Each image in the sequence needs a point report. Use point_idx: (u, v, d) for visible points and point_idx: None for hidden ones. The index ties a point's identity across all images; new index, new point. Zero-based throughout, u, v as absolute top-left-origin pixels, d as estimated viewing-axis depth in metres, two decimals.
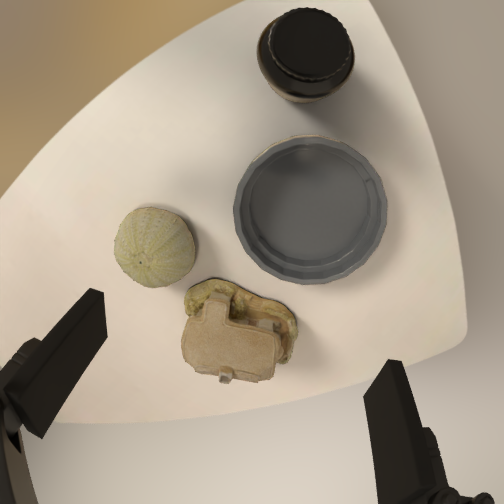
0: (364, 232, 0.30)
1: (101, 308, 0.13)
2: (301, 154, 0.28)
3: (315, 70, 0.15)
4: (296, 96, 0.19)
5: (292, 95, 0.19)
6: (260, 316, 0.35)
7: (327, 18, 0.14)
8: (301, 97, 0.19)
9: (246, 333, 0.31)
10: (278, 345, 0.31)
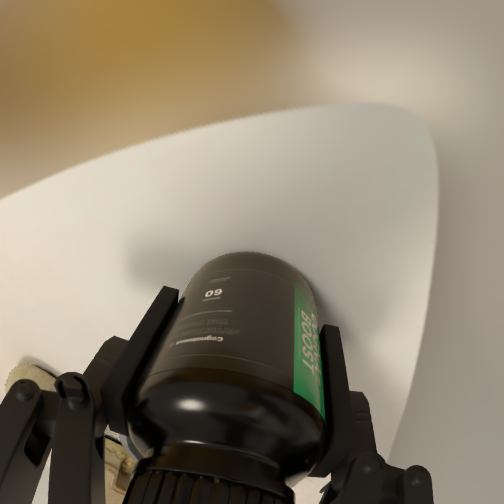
0: None
1: (176, 304, 0.14)
2: None
3: None
4: None
5: None
6: None
7: None
8: None
9: None
10: None
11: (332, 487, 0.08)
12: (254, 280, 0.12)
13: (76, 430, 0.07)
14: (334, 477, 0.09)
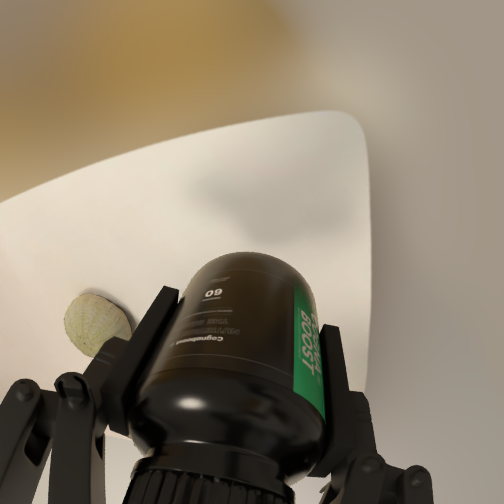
0: None
1: (176, 304, 0.14)
2: None
3: None
4: None
5: None
6: None
7: None
8: None
9: None
10: None
11: (332, 487, 0.08)
12: (254, 280, 0.12)
13: (76, 430, 0.07)
14: (334, 477, 0.09)
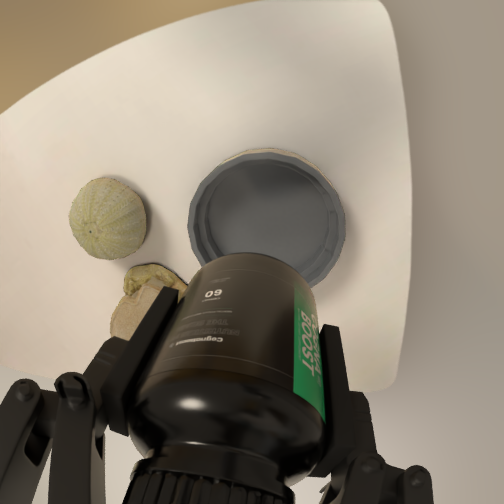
0: (313, 261, 0.31)
1: (176, 304, 0.14)
2: (273, 168, 0.28)
3: None
4: None
5: None
6: None
7: None
8: None
9: None
10: None
11: (332, 487, 0.08)
12: (254, 280, 0.12)
13: (76, 430, 0.07)
14: (334, 477, 0.09)
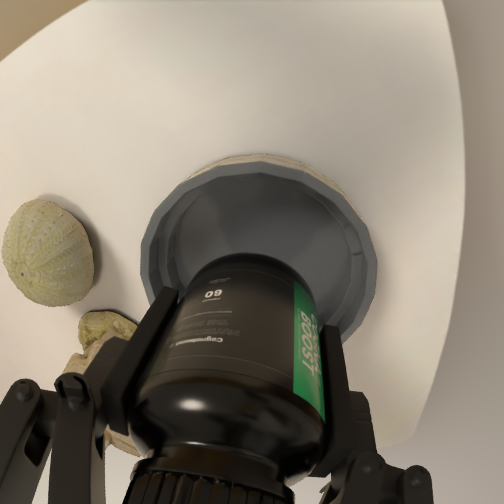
0: (325, 320, 0.21)
1: (176, 304, 0.14)
2: (268, 185, 0.19)
3: None
4: None
5: None
6: None
7: None
8: None
9: None
10: None
11: (332, 487, 0.08)
12: (254, 281, 0.12)
13: (76, 430, 0.07)
14: (334, 477, 0.09)
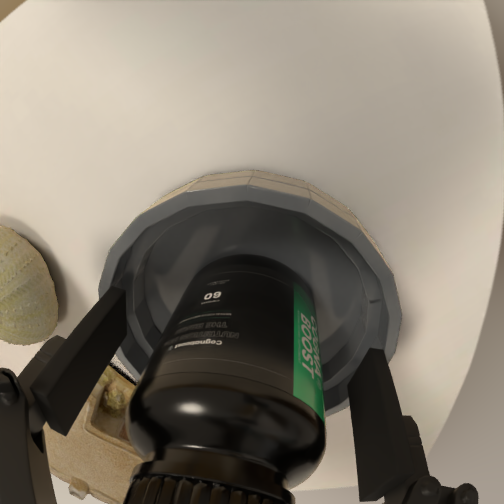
0: (331, 374, 0.16)
1: (123, 305, 0.13)
2: (260, 212, 0.14)
3: None
4: None
5: None
6: None
7: None
8: None
9: (112, 450, 0.17)
10: None
11: None
12: (254, 282, 0.12)
13: (11, 424, 0.06)
14: (390, 498, 0.08)
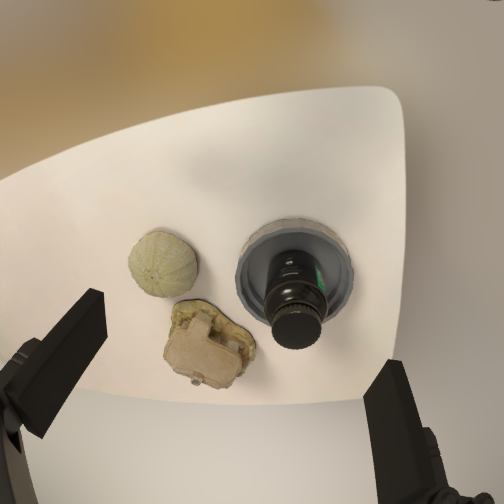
0: None
1: (101, 308, 0.13)
2: (301, 233, 0.38)
3: (292, 345, 0.30)
4: None
5: None
6: (230, 338, 0.44)
7: (313, 321, 0.28)
8: None
9: (219, 351, 0.40)
10: (240, 365, 0.40)
11: None
12: (301, 258, 0.36)
13: None
14: None
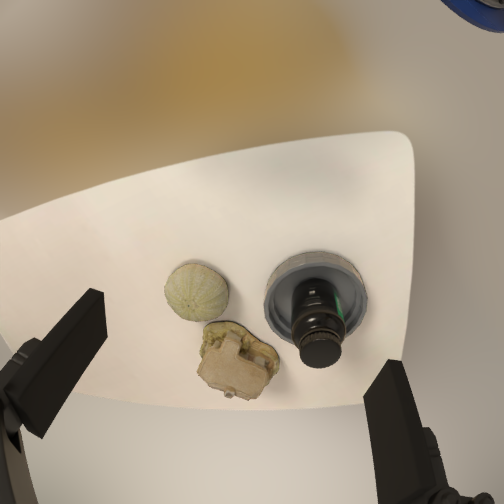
0: None
1: (101, 308, 0.13)
2: None
3: (316, 365, 0.34)
4: None
5: None
6: (257, 354, 0.48)
7: (335, 346, 0.33)
8: None
9: (248, 367, 0.45)
10: (267, 378, 0.45)
11: None
12: (322, 288, 0.40)
13: None
14: None
